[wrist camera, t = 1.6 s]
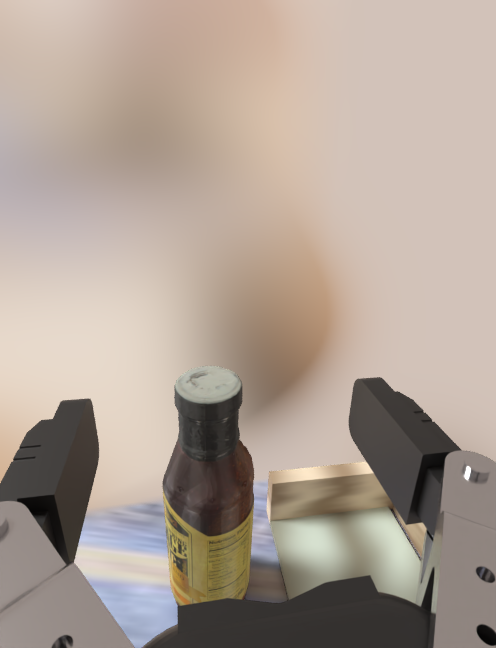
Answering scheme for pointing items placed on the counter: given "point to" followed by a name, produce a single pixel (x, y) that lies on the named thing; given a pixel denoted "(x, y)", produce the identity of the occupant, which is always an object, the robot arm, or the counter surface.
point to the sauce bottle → (208, 491)
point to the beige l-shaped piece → (341, 530)
